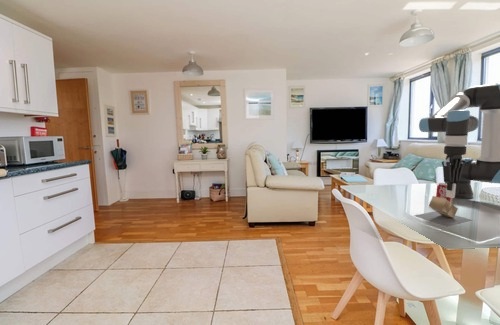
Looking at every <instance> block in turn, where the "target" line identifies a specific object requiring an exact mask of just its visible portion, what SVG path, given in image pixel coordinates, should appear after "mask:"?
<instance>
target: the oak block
mask: <svg viewBox="0 0 500 325" xmlns="http://www.w3.org/2000/svg"><path fill="white" fill-rule="evenodd" d="M428 207H429V208H431V209H432V210H433V211H436V212H438V213H439V214H441V215H443V216H446V217H450V218H453V219H454V216H455V215H457V214H456V213H457V211H458V209H459V208H458V207H457V206H455V205H454V204H453V203H452V204H451V203H450V202H449V201H448V200H446V199H444V198H440V197H436V195H435V196H434V195H433V196H432V198H431V200H430V201H429V204H428Z"/></svg>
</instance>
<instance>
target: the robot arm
mask: <svg viewBox="0 0 500 325" xmlns="http://www.w3.org/2000/svg"><path fill="white" fill-rule="evenodd" d="M469 108H479V111H480V112H482V113H483V117H482V130H481V145H480V146H481V147H480V155H479V156H478V157H477V158H476V160H474V158H472V157H463V156H465V155H466V154H467V146H466V145H468V138H469V137H468V135H469V133H471V132H474V131H476V130H478V128H479V127H480V119H479V118H478V117H476V116H474V115H471V114H470V113H471V112H470V110H469ZM418 128H419V130H420V132H421V133H428V134H429V133H445V136H444V144H445V146H444V148H443V154H444V155H446V157H445V160H444V161H442V162H441V165H442V171H443V172H442V175H443V183H447V191H446V197H450V198H453V199H454V198H456V199H473V198H474V191H473V188H472V183H471V182H472V181H475V182H481V183H483V182H484V183H490V184H498V185H500V82H496V83H495V82H494V83H489V84H482V85H481V84H480V85H474V86H473V85H472V86H469V87H468V88H465V89H461V90H460V91H458V92H456V93H455V94H453V95H452V96H451V97H450V98H449V99H448V102H447V103H446V104H445V105H443V106H442V107H441V108H440V109H439V110H438V111H436V112H435V113H434V114H432V115H431V116H430V117H428V116H427V117H422V118H420V120H419V123H418Z"/></svg>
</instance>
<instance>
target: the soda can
mask: <svg viewBox="0 0 500 325" xmlns="http://www.w3.org/2000/svg"><path fill="white" fill-rule="evenodd" d="M446 191H447V183H445V182H439V183H438V185H437V187H436V195H435V197H440V198H444V199H446V200H448V201H449V202H450V203H451V204H453V202H454V198H450V197H446Z"/></svg>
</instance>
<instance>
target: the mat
mask: <svg viewBox="0 0 500 325" xmlns="http://www.w3.org/2000/svg"><path fill="white" fill-rule="evenodd" d="M413 217H417V218H419V219H423V220H426V221H429V222H431V223H432V222H433V223H436V224H439V225H441V226H444V227H451V226H455V225H459V224H462V223H463V224H464V223H467V222H472V221H473V219H470V218H466V217H462V216H460V215H457V214H455V216H454V219H453V218H450V217H446V216H443V215H441V214H439V213H438V212H436V211H435V210H433V211H430V212H426V213H420V214H415V215H413Z"/></svg>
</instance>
